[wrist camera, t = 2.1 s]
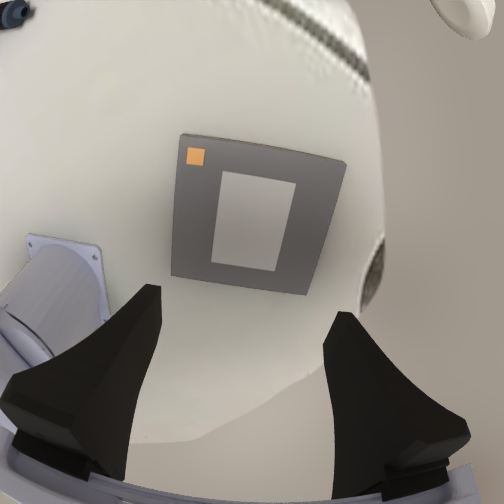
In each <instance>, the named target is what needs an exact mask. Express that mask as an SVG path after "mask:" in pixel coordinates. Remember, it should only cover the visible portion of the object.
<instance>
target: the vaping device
mask: <svg viewBox="0 0 504 504" xmlns="http://www.w3.org/2000/svg"><path fill="white" fill-rule="evenodd" d="M29 12H30V8H29V6H27V4H26V2H25V1H24V0H13V1H9V2H5V3H1V4H0V30H2V29H8V28H15V27H17V26H19V25H20V24H21V23H22V22H23V20H24V18H26V17H27V16H28V14H29Z"/></svg>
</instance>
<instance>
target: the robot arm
mask: <svg viewBox="0 0 504 504" xmlns="http://www.w3.org/2000/svg"><path fill="white" fill-rule="evenodd" d="M26 243H27V247H28V252H29V256H30V261H29V262H28V263H27V264H26V265H25V266H24V267H23V268H22V270H21V271H20V272H19V273H18V274H17V275H16V276H15V277H14V278H13V280H12V281H11V282H10V283H9V284H8V285H7V286H6V288H5V289H4V290H3V291H2V292H1V294H0V492H2V493H3V494H5V495H6V496H8V497H10V498H11V499H13V500H14V501H16V502H18V503H19V504H129V503H132V504H482V501H481V497H480V493H479V489H478V486H477V482H476V478H475V475H474V472H473V468H472V464H471V463H468V464H465V465H463V466H460V467H457V468H454V469H452V470H450V471H448V472H447V470H446V466H448V465H449V459H448V457H450V456H451V455H452V454H454V453H455V452H456V451H458V450H459V449H460V448H462V447H463V446H464V445H466V443H467V442H468V441H469V440H470V438H471V434H470V431H469V428H468V426H467V423H466V421H465V419H463V418H462V417H460V416H458V415H456V414H454V413H453V412H451V411H449V410H447V409H446V408H444V407H443V406H441V405H440V404H438V403H437V402H435V401H434V400H433V399H431V398H430V397H429V396H427V395H426V394H425V393H424V392H422V391H421V390H420V389H419V388H418V387H416V386H415V385H414V384H413V383H412V382H411V381H410V380H409V379H408V378H407V377H406V376H404V375H403V373H402V372H401V371H400V370H399V369H398V368H397V367H396V366H395V365H394V364H393V363H392V362H391V361H390V360H389V358H388V357H387V356H386V355H385V354H384V353H383V351H382V350H381V349H380V348H379V346H378V345H377V344H376V343H375V341H374V340H373V339H372V338H371V337H370V335H369V334H368V333H367V331H366V330H365V329H364V327H363V326H362V325H361V324H360V322H359V321H358V320H357V318H356V317H355V316H354V315H353V314H352V313H351V312H341V311H338V313H337V315H336V318H335V320H334V322H333V324H332V326H331V328H330V331H329V333H328V335H327V337H326V339H325V341H324V343H323V355H324V367H325V372H326V377H327V383H328V388H329V393H330V398H331V403H332V409H333V416H334V434H335V465H334V481H333V491H332V498H331V500H324V501H311V502H294V503H293V502H289V503H258V502H238V501H225V500H215V499H206V498H198V497H191V496H185V495H179V494H173V493H168V492H163V491H158V490H154V489H149V488H145V487H141V486H137V485H133V484H129V483H125V482H122V481H123V480H124V479H125V469H126V461H127V452H128V446H129V440H130V433H131V428H132V423H133V418H134V413H135V408H136V404H137V399H138V395H139V392H140V389H141V386H142V383H143V380H144V377H145V375H146V372H147V369H148V367H149V364H150V361H151V359H152V356H153V353H154V350H155V348H156V345H157V341H158V337H159V333H160V329H161V325H162V308H161V286H157V285H151V284H145V285H144V286H143V287H142V288H141V289H140V290H139V291H138V292H137V293H136V294H135V295H134V296H133V297H132V298H131V299H130V300H129V301H128V302H127V303H126V304H125V305H124V306H123V307H122V308H121V309H120V310H119V311H117V312H116V313H115V314H114V315H113V316H112V317H111V315H110V309H109V303H108V297H107V291H106V284H105V277H104V269H103V261H102V252H101V249H100V247H99V246H97V245H93V244H88V243H82V242H76V241H70V240H65V239H59V238H54V237H48V236H43V235H37V234H32V233H29V234H27V235H26ZM30 243H31V244H32V245H31V244H30ZM94 255H96V256H97V257H98V259H97V258H95V257H94ZM105 319H106V320H107V321H106V320H105ZM123 501H125V502H123ZM126 502H129V503H126Z"/></svg>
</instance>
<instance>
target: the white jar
mask: <svg viewBox="0 0 504 504" xmlns="http://www.w3.org/2000/svg"><path fill="white" fill-rule="evenodd" d="M430 1H431V3H432V5H433V6H434V8H435V9H436V11H437V13H438V14H439V16H440V17H441V18H442V19H443V20H444V21H445V22H446V23H447V25H448V26H449V27H450V28H452V29H453V30H454V31H456V32H457V33H458V34H460V35H461V36H463V37H465V38H468V39H470V40H481V39H483V38H484V37H485V36H486V35H487V34H488V33H490V30H491V26H492V22H493V17H494V12H495V2H494V0H430Z"/></svg>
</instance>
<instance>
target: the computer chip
mask: <svg viewBox="0 0 504 504" xmlns="http://www.w3.org/2000/svg"><path fill="white" fill-rule="evenodd" d="M346 166H347V165H346V164H345V163H344V162H343V161H339V160H334V159H330V158H326V157H321V156H317V155H312V154H308V153H303V152H298V151H293V150H288V149H283V148H278V147H272V146H267V145H261V144H255V143H249V142H243V141H236V140H229V139H222V138H215V137H207V136H199V135H190V134H182V135H181V136H180V140H179V150H178V160H177V171H176V184H175V197H174V213H173V232H172V259H171V276H176V277H182V278H188V279H194V280H201V281H207V282H214V283H220V284H227V285H233V286H240V287H247V288H254V289H261V290H268V291H276V292H283V293H291V294H299V295H307V292H308V289H309V286H310V283H311V280H312V277H313V275H314V272H315V269H316V266H317V263H318V260H319V256H320V253H321V250H322V247H323V244H324V241H325V238H326V235H327V231H328V228H329V225H330V222H331V218H332V215H333V212H334V208H335V205H336V202H337V198H338V195H339V191H340V188H341V184H342V181H343V177H344V174H345V170H346Z"/></svg>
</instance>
